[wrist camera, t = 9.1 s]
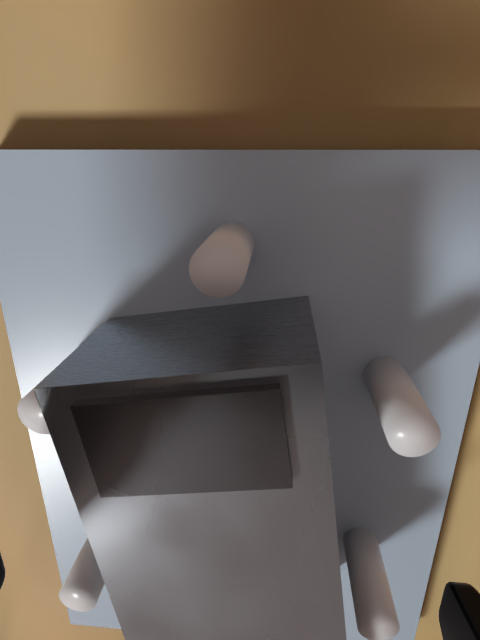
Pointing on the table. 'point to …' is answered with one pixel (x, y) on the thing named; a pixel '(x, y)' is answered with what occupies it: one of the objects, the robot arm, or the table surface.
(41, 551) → the table surface
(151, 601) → the block
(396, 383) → the pin cradle
